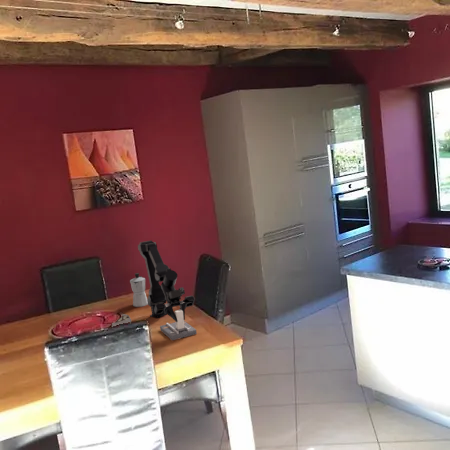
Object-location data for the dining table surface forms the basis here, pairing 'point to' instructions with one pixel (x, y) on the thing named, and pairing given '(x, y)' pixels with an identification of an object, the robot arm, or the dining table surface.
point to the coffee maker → (138, 291)
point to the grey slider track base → (174, 334)
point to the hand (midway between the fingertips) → (180, 320)
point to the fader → (180, 321)
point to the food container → (122, 320)
